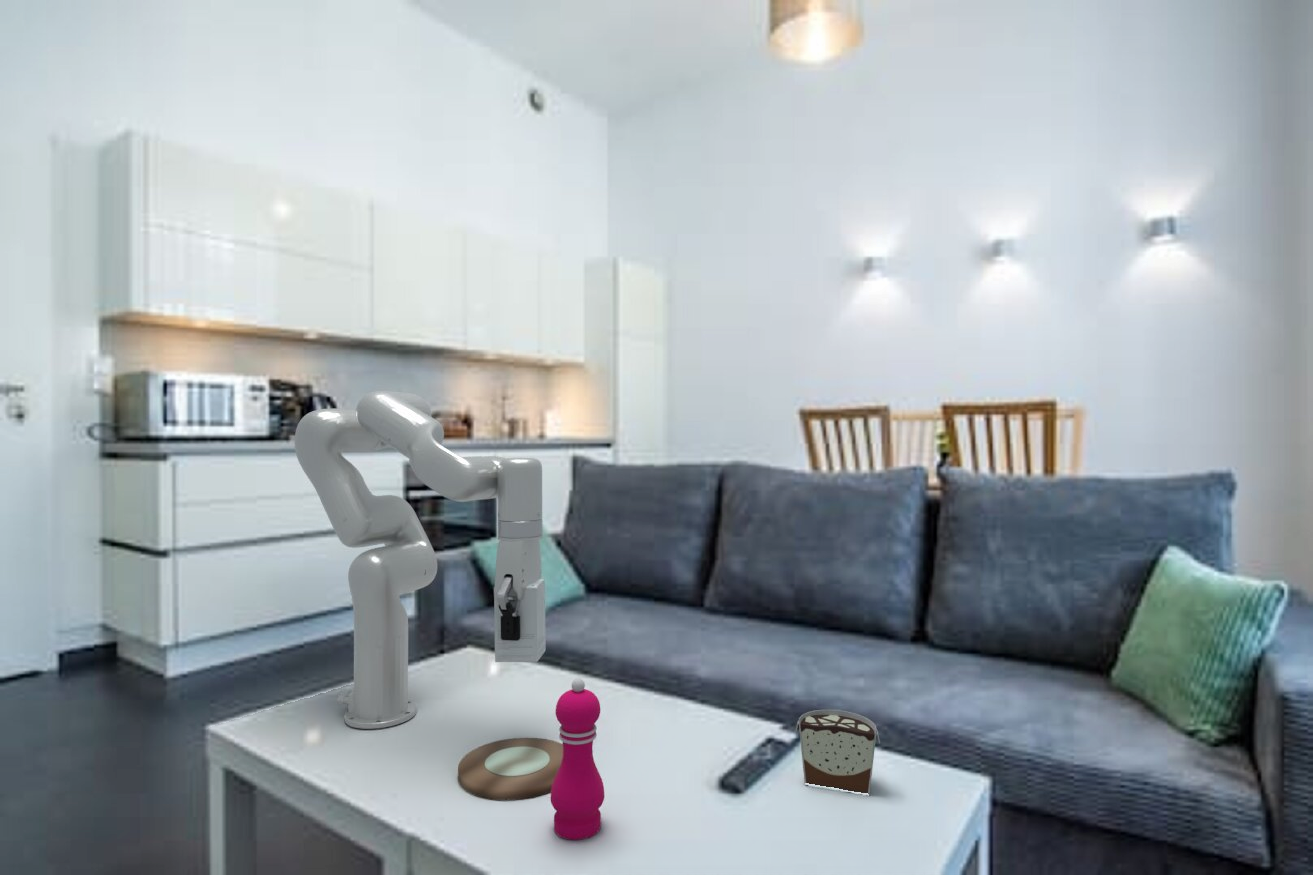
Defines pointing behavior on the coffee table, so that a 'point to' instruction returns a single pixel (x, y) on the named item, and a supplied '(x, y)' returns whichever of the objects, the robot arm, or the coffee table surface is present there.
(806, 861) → the coffee table surface
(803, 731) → the food container
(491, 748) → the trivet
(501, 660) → the supplement box
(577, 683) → the pepper mill
